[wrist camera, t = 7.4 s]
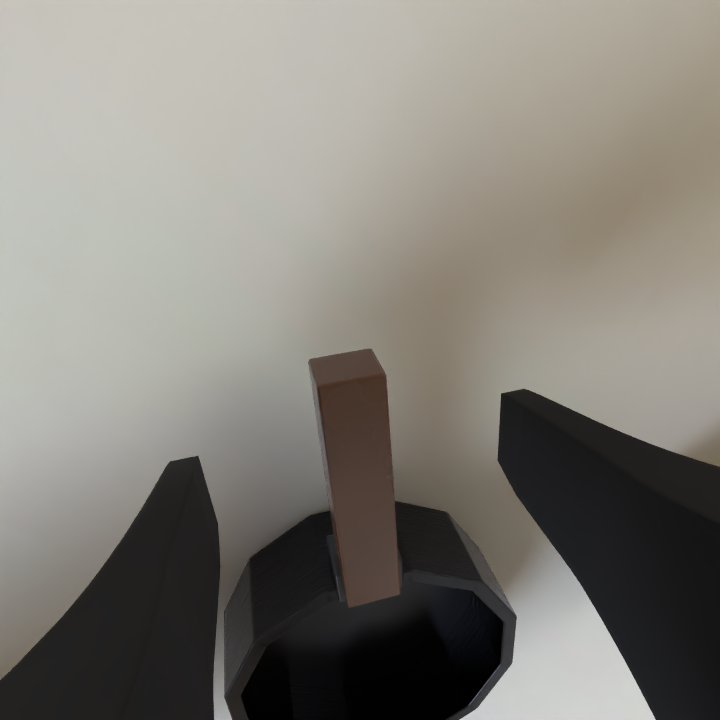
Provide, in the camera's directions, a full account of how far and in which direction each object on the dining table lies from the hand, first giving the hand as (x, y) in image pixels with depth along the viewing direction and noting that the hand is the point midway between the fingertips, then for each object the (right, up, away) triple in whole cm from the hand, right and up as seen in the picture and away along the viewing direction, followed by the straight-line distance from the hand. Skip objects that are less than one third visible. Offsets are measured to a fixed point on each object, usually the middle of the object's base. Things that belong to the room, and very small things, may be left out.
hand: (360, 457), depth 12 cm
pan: (0, -4, +7) cm, 8 cm away
